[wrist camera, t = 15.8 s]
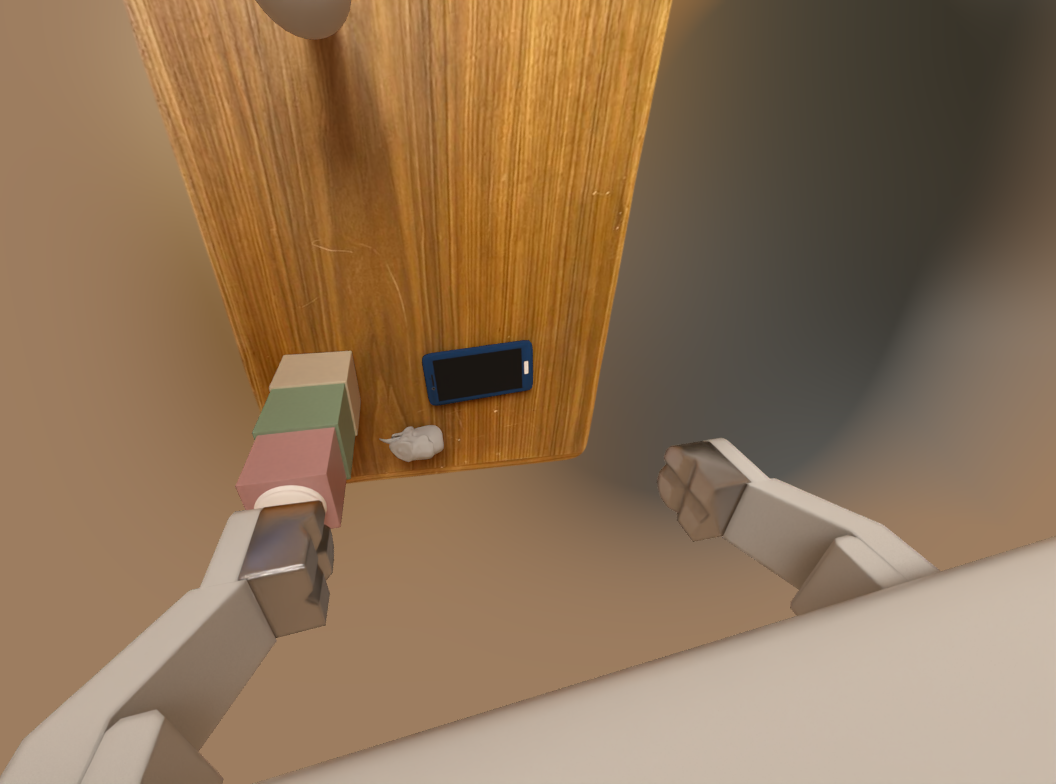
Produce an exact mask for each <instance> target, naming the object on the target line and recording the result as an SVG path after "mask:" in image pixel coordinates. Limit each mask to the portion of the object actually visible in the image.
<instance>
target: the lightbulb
mask: <svg viewBox="0 0 1056 784" xmlns="http://www.w3.org/2000/svg"><path fill="white" fill-rule="evenodd" d="M256 2H257V3H258V4H259V5H260V7H261V8H262V9H263V11H264V12H265V13H266V14H267V15H268V16H269V17H270V18H271V19H272V20H273V21H274V22H275V23H276V24H278V25H279V26H280V27H282V28H283V29H284V30H286V31H288V32H290V33H292V34H294V35H295V36H298V37H302V38H305V39H314V40H317V39H323V38H327V37H329V36H331V35H333V34H334V33H336V32H337V31H338V30H339V29H340V28H341V27H342V25H343V24H344V22H345V21H346V19H347V16H348V13H349V11H350V5H351V0H256Z"/></svg>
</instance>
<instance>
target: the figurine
mask: <svg viewBox="0 0 1056 784" xmlns="http://www.w3.org/2000/svg"><path fill="white" fill-rule="evenodd" d="M379 440H381V441H383V442H385V443H388V444H390V445H389V447H390V450H391V452H392V453H394V454H395V456H396V457H397V458H399V459H402V460H404V461H407V462H410V461H412V460H423V459H430V458H432V457H433V456H434V454H437V453H439V452H440V451H442V450H443V448H444V443H443V436H442V432H441V430H440V429H439V428H438V427H437V426H435V425H427V426H423V427H419V428H416V429H414V428H413V427H407V428H406V429H405V430H404V431H402V432H401V433H396V434H393V435H392V438H391V439H379Z"/></svg>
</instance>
